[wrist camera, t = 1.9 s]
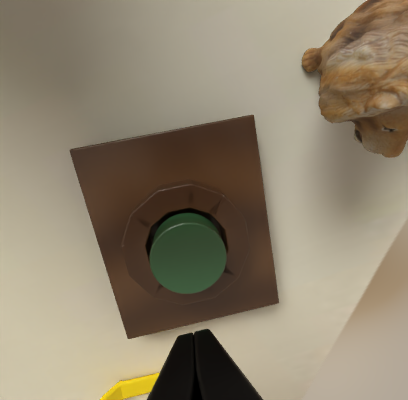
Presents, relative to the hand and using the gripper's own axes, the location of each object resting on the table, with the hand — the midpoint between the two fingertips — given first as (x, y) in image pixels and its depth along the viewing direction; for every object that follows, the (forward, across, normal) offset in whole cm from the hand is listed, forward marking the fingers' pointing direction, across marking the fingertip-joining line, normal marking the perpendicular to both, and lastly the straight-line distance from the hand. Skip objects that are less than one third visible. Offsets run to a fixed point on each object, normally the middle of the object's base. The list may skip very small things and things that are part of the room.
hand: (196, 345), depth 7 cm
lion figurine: (+10, -13, -8) cm, 18 cm away
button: (+7, 0, 0) cm, 7 cm away
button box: (+10, 0, 0) cm, 10 cm away
